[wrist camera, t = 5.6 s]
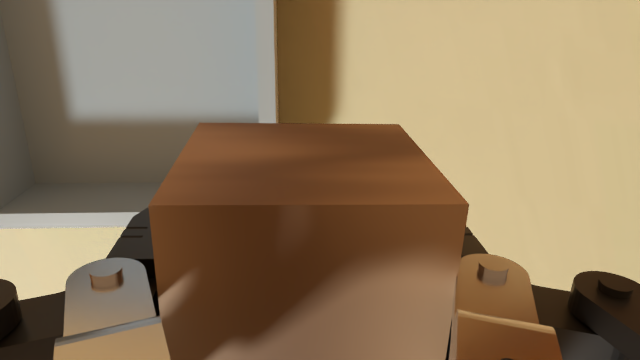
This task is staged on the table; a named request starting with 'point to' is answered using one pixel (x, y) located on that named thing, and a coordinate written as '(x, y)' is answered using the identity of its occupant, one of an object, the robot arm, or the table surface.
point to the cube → (306, 245)
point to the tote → (120, 98)
